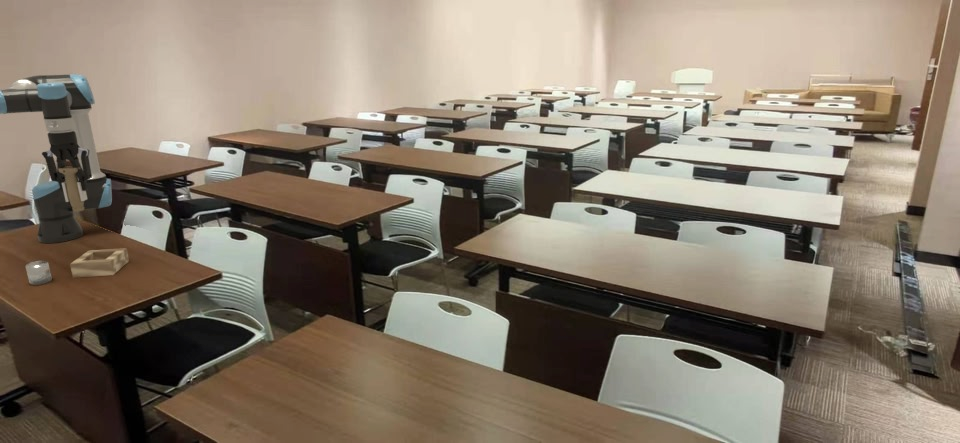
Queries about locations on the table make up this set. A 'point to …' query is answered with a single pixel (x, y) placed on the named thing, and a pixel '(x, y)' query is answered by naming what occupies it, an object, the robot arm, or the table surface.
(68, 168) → the handle
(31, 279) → the round plug
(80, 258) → the socket block
